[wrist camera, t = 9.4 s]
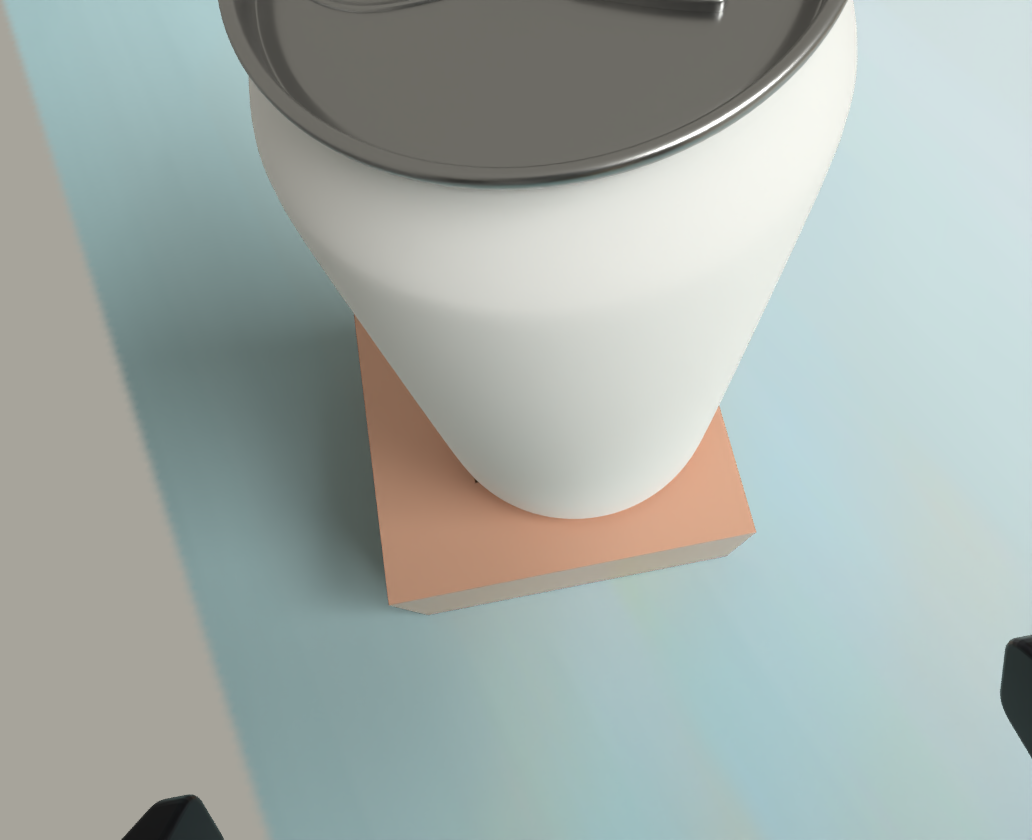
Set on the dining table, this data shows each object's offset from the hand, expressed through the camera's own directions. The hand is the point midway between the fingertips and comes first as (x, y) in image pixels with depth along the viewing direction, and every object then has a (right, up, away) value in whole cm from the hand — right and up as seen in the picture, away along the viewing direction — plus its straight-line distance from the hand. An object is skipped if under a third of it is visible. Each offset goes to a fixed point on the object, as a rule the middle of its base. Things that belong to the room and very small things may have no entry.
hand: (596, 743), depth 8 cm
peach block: (0, +3, +13) cm, 14 cm away
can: (0, +4, +10) cm, 11 cm away
